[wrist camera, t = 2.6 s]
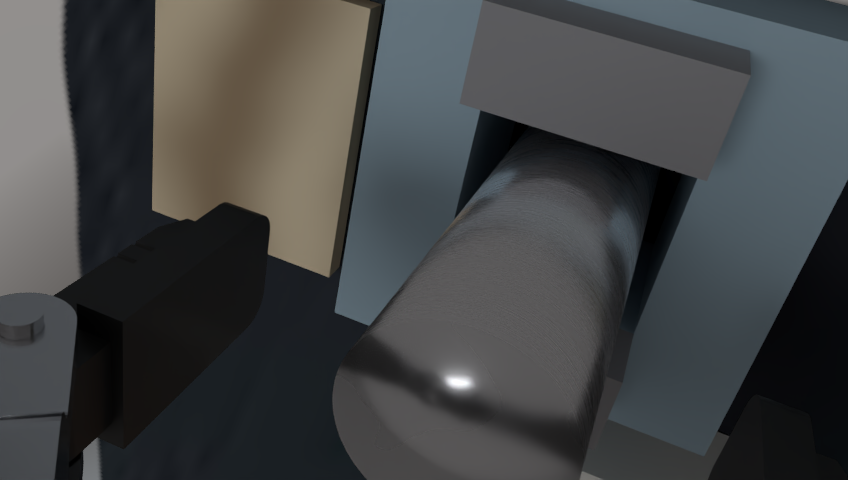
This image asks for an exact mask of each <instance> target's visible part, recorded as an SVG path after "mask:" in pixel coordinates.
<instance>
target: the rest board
mask: <svg viewBox="0 0 848 480" xmlns="http://www.w3.org/2000/svg"><path fill="white" fill-rule="evenodd" d="M381 7H382V4H379V3H375V2H372V1H369V0H156V12H155V71H154V130H153V190H152V210H154V211H156V212H159V213H161V214H164V215H167V216H169V217H172V218H175V219H177V220H180V221H181V220H185V219H190V220H193V221H196V220H198V219H199V218H201V217H202V216H203V215H205V214H206V213H208V212H209V211H211V210H212V209H214V208H215V207H216V206H218V205H219V204H221V203H224V202H229V203H231V204H234V205H237V206H240V207H242V208H245V209H248V210H251V211H254V212H256V213H259V214H262V215H265V216H267V217H268V219H269V222H270V236H269V246H268V254H269V255H272V256H274V257H277V258H280V259H282V260H285V261H287V262H290V263H293V264H295V265H298V266H301V267H303V268H306V269H308V270H311V271H314V272H316V273H319V274H322V275H324V276H327V277H330V276H331V275H332V274H333V273H334V272H335V271H336V270H337V269H338V268H339V266H340V260H341V254H342V248H343V242H344V235H345V229H346V223H347V217H348V211H349V204H350V198H351V192H352V186H353V180H354V174H355V167H356V161H357V155H358V149H359V143H360V136H361V130H362V124H363V118H364V112H365V106H366V99H367V93H368V87H369V81H370V75H371V69H372V62H373V56H374V50H375V44H376V38H377V31H378V25H379V19H380V13H381Z"/></svg>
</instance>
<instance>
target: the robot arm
mask: <svg viewBox="0 0 848 480" xmlns="http://www.w3.org/2000/svg"><path fill="white" fill-rule="evenodd" d="M269 236H270V222H269V219H268V217H267V216H265V215H262V214H259V213H256V212H254V211H251V210H248V209H245V208H242V207H240V206H237V205H234V204H231V203H229V202H224V203H221V204H219V205H218V206H216V207H215V208H214V209H212V210H211V211H209V212H208V213H206V214H205V215H203V216H202V217H201V218H199V219H198V220H196V221H193V220H190V219H185V220H181V221H178V222H174V223H171V224H167V225H164V226H160V227H158V228H156V229H155V230H153V231H151V232H150V233H148V234H147V235H145V236H144V237H142V238H141V239H139V240H138V241H136V244H135V245H130V246H129V247H127V248H126V249H124V250H123V251H121V252H119V253H118V256H117V257H114V256H113V257H112V258H110V259H109V260H107V261H106V262H104V263H103V264H101V265H100V266H98V267H97V268H95V269H94V270H92V271H91V272H89V273H87V274H86V275H84V276H83V277H81V278H80V279H78V280H77V281H75V282H74V283H72V284H71V285H69V286H68V287H66V288H65V289H63V290H62V291H60V292H59V293H57V294H55V295H54V296H51V295H47V294H40V293H16V294H9V295H5V296H1V297H0V480H82V476H83V450H84V449H85V448H86V447H87V446H88V445H89V444H90V443H91V442H92V441H93V440H95V439H96V438H97V437H98V438H100V439H102V440H104V441H107V442H109V443H111V444H113V445H115V446H118V447H120V448H122V449H124V448H125V447H126V446H127V445H128V444H129V443H131V442H132V441H133V440H134V439H135V438H136V437H137V436H138V435H139V434H140V433H141V432H142V431H143V430H144V429H145V428H146V427H147V426H148V425H149V424H150V423H151V422H152V421H153V420H154V419H155V418H156V417H157V416H158V415H159V414H160V413H161V412H162V411H163V410H164V409H165V408H166V407H167V406H168V405H169V404H170V403H171V402H172V401H173V400H174V399H175V398H176V397H177V396H178V395H179V394H180V393H181V392H182V391H183V390H184V389H185V388H186V387H187V386H188V385H189V384H190V383H191V382H192V381H193V380H194V379H195V378H196V377H197V376H199V375H200V374H201V373H202V372H203V371H204V370H205V369H206V368H207V367H208V366H209V365H210V364H211V363H212V362H213V361H214V360H215V359H216V358H217V357H218V356H219V355H220V354H221V353H222V352H223V351H224V350H225V349H226V348H227V347H228V346H229V345H230V344H231V343H232V342H233V341H234V340H235V339H236V338H237V337H238V336H239V335H240V334H241V333H242V332H243V331H244V330H245V329H246V328H247V327H248V326H249V325H250V324H251V322H252V321H253V319H254V318H255V316H256V314H257V312H258V310H259V307H260V305H261V301H262V298H263V293H264V284H265V275H266V265H267V255H268V246H269ZM708 480H848V477H847V475H846V474H845V472H844V471H843V469H842V468H841V466H840V465H839V463H838V461H837V460H834V459H832V458H829V457H826V456H824V455H821V454H818V453H816V451H815V444H814V437H813V430H812V423H811V418H810V415H809V414H808V413H807V412H804V411H801V410H798V409H795V408H793V407H790V406H787V405H784V404H782V403H779V402H776V401H773V400H771V399H768V398H765V397H762V396H759V395H754V396H753V397H752V398H751V399H750V400H749V401H748V403H747V405H746V406H745V408H744V410H743V412H742V414H741V416H740V417H739V419H738V421H737V423H736V425H735V427H734V429H733V431H732V432H731V434H730V436H729V438H728V440H727V442H726V444H725V446H724V447H723V449H722V451H721V453H720V455H719V457H718V459H717V460H716V462H715V464H714V466H713V468H712V470H711V473H710V475H709V478H708Z"/></svg>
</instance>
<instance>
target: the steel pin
mask: <svg viewBox="0 0 848 480" xmlns="http://www.w3.org/2000/svg"><path fill="white" fill-rule="evenodd" d="M660 170H661V167H660V166H657V165H653V164H650V163H647V162H644V161H641V160H637V159H634V158H631V157H628V156H625V155H622V154H618V153H615V152H612V151H609V150H606V149H602V148H599V147H596V146H593V145H590V144H586V143H583V142H580V141H577V140H574V139H571V138H567V137H564V136H561V135H558V134H555V133H551V132H548V131H545V130H542V129H539V128H536V127H532V126H528V128H527V129H526V130H525V132H524V133H523V134H522V135H521V137H520V138H519V139H518V140H517V142H516V143H515V144H514V145H513V147H512V148H511V149H510V150H509V152H508V153H507V154H506V155H505V157H504V158H503V159H502V160H501V162H500V163H499V164H498V165H497V167H496V168H495V169H494V170H493V172H492V173H491V174H490V175H489V177H488V178H487V179H486V180H485V182H484V183H483V184H482V185H481V187H480V188H479V189H478V190H477V192H476V193H475V194H474V195H473V197H472V198H471V199H470V200H469V202H468V203H467V204H466V205H465V207H464V208H463V209H462V210H461V212H460V213H459V214H458V216H457V217H456V218H455V219H454V221H453V222H452V223H451V224H450V226H449V227H448V228H447V229H446V231H445V232H444V233H443V234H442V236H441V237H440V238H439V239H438V241H437V242H436V243H435V244H434V246H433V247H432V248H431V249H430V251H429V252H428V253H427V254H426V256H425V257H424V258H423V259H422V261H421V262H420V263H419V264H418V266H417V267H416V268H415V269H414V271H413V272H412V273H411V274H410V276H409V277H408V278H407V279H406V281H405V282H404V283H403V284H402V286H401V287H400V288H399V289H398V291H397V292H396V293H395V294H394V296H393V297H392V298H391V300H390V301H389V302H388V303H387V305H386V306H385V307H384V308H383V310H382V311H381V312H380V313H379V315H378V316H377V317H376V318H375V320H374V321H373V322H372V323H371V325H370V326H369V327H368V328H367V330H366V331H365V332H364V333H363V335H362V336H361V337H360V338H359V340H358V341H357V342H356V343H355V345H354V346H353V347H352V348H351V350H350V351H349V352H348V354H347V355H346V357H345V358H344V360H343V361H342V363H341V365H340V367H339V370H338V372H337V374H336V378H335V382H334V387H333V398H332V399H333V413H334V418H335V423H336V427H337V430H338V433H339V436H340V438H341V440H342V443H343V445H344V447H345V449H346V451H347V453H348V454H349V456H350V457H351V459H352V461H353V462H354V464H355V465H356V466H357V468H358V469H359V470H360V472H361V473H362V474H363V476H364V477H365V478H366V479H367V480H580V476H581V473H582V469H583V465H584V462H585V458H586V454H587V450H588V446H589V442H590V438H591V435H592V431H593V427H594V423H595V419H596V415H597V412H598V408H599V404H600V400H601V396H602V392H603V389H604V385H605V381H606V377H607V373H608V369H609V366H610V362H611V358H612V354H613V350H614V346H615V342H616V339H617V335H618V331H619V327H620V323H621V319H622V316H623V312H624V308H625V304H626V300H627V296H628V293H629V289H630V285H631V281H632V277H633V273H634V269H635V266H636V262H637V258H638V254H639V250H640V246H641V243H642V239H643V235H644V231H645V227H646V223H647V220H648V216H649V212H650V208H651V204H652V200H653V197H654V193H655V189H656V185H657V181H658V177H659V173H660Z"/></svg>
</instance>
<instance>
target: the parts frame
mask: <svg viewBox="0 0 848 480" xmlns="http://www.w3.org/2000/svg"><path fill="white" fill-rule="evenodd" d="M728 438H729V436H727V435H725V434H722V433H720V432H717V433H716V435H715V437H714V438H713V440H712V442H711V444H710V446H709V448H708V450H707V452H706V454H705V456H701V455H698V454H696V453H693V452H691V451H688V450H686V449H683V448H681V447H678V446H675V445H673V444H670V443H668V442H665V441H663V440H660V439H658V438H655V437H652V436H650V435H647V434H645V433H642V432H640V431H637V430H635V429H632V428H629V427H627V426H624V425H622V424H619V423H617V422H614V421H612V420H609V419H607V422H606V424H605V426H604V429H603V431H602V434H601V436H600V438H599V441H598V443H597V446H596V448H595V450H592V449H590V448H588V450H587V454H586V458H585V462H584V465H583V469H582V473H581V476H580V480H708V478H709V475H710V473H711V470H712V468H713V466H714V464H715V462H716V460H717V459H718V457H719V455H720V453H721V451H722V449H723V447H724V446H725V444H726V442H727V440H728Z"/></svg>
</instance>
